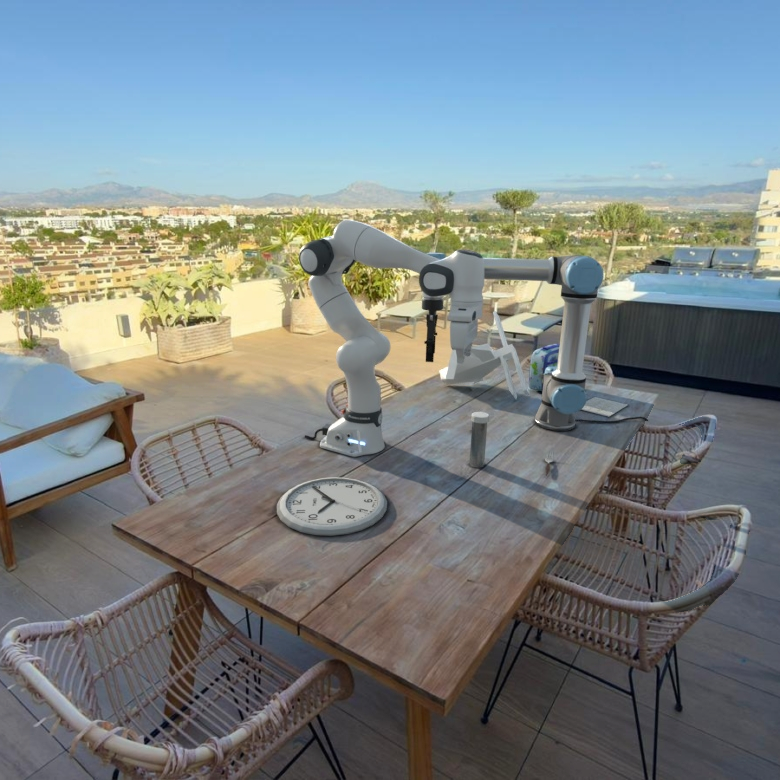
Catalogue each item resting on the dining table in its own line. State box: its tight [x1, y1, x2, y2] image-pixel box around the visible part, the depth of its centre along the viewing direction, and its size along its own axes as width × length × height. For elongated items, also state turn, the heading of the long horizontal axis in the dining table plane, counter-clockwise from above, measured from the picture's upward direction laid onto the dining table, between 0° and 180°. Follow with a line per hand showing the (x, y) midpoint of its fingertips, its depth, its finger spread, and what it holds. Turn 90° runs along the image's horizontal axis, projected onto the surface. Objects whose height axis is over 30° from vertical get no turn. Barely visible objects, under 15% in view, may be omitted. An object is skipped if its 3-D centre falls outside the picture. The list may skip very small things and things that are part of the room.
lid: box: [470, 411, 490, 424], centre depth 164 cm, size 5×5×2 cm
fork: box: [544, 451, 555, 476], centre depth 168 cm, size 3×16×2 cm, turn 160°
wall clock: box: [276, 476, 388, 537], centre depth 142 cm, size 30×2×30 cm
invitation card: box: [580, 396, 629, 418], centre depth 226 cm, size 21×1×15 cm
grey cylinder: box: [469, 420, 488, 469], centre depth 166 cm, size 5×5×17 cm
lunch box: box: [528, 343, 560, 393], centre depth 248 cm, size 26×11×21 cm, turn 134°
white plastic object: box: [438, 310, 531, 400], centre depth 245 cm, size 37×45×31 cm
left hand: (463, 359), depth 149 cm, fingers open, 8 cm apart
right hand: (430, 357), depth 190 cm, fingers open, 13 cm apart
